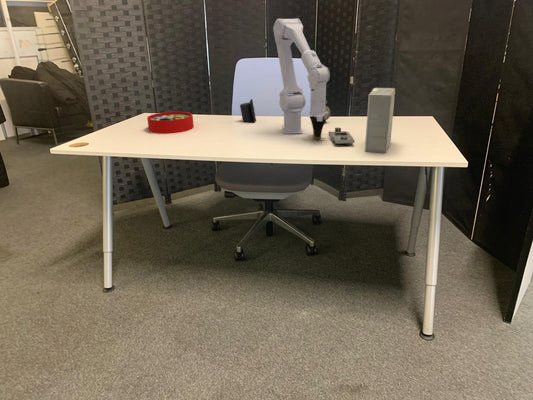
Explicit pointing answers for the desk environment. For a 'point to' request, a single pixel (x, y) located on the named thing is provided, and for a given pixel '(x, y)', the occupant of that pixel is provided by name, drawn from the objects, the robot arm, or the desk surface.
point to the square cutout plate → (341, 137)
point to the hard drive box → (379, 119)
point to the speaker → (248, 112)
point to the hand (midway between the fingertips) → (317, 135)
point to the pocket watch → (327, 114)
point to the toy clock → (170, 122)
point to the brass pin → (316, 137)
